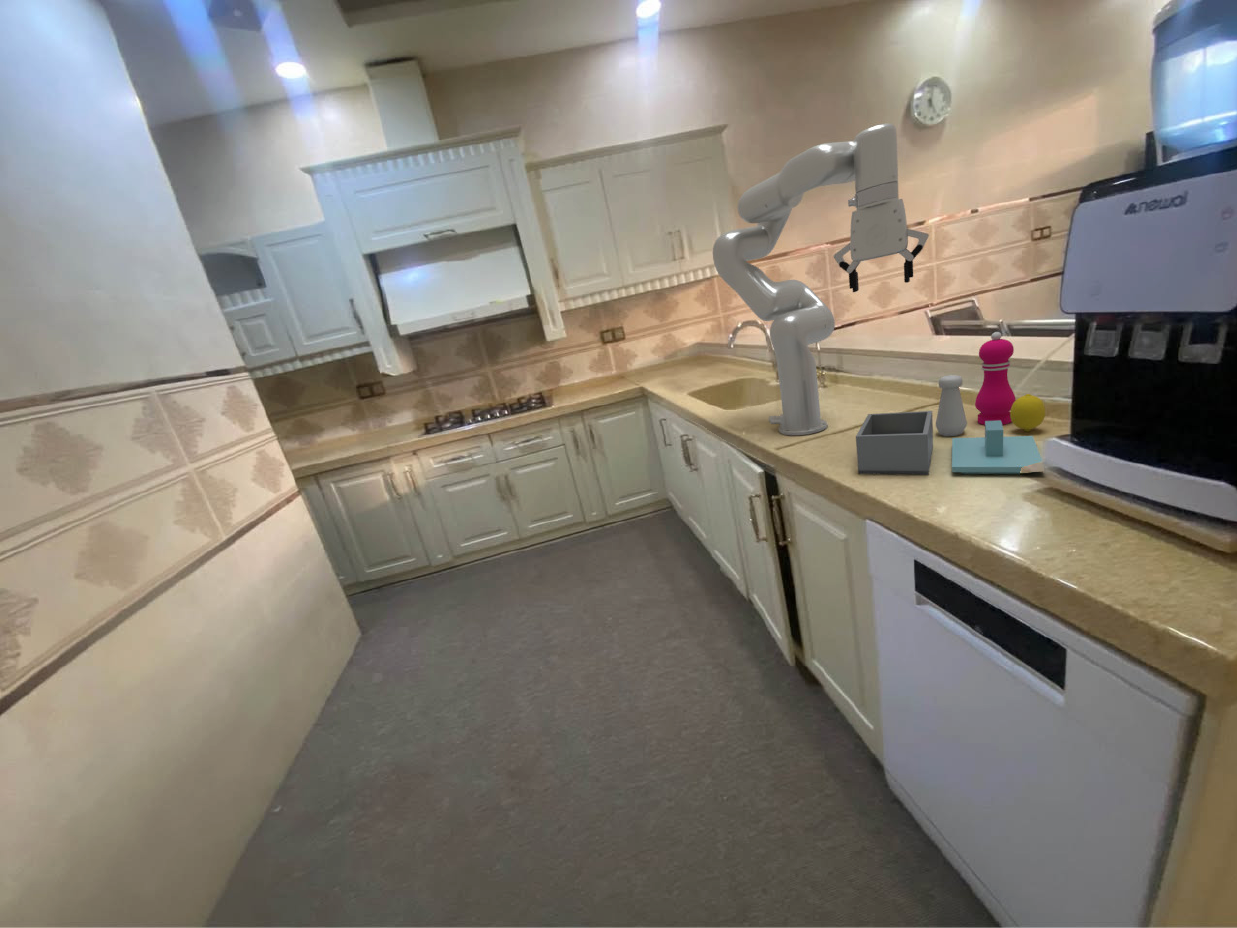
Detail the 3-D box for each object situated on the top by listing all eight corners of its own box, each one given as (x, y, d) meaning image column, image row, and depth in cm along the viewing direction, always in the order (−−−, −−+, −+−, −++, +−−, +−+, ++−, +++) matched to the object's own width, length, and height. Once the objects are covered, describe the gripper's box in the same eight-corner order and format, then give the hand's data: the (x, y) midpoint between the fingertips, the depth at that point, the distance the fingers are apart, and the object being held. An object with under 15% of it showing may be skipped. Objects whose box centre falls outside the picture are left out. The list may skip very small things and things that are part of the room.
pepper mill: (1001, 415, 113) (1003, 327, 108) (1023, 422, 107) (1026, 329, 101) (968, 420, 115) (968, 334, 109) (987, 428, 108) (988, 336, 102)
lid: (951, 478, 89) (951, 440, 87) (952, 448, 102) (952, 415, 100) (1044, 479, 82) (1046, 438, 80) (1032, 446, 95) (1033, 410, 93)
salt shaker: (962, 428, 111) (962, 371, 107) (970, 435, 106) (971, 376, 102) (932, 431, 113) (931, 375, 109) (939, 438, 108) (938, 380, 104)
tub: (858, 474, 99) (855, 436, 96) (870, 448, 111) (868, 414, 109) (928, 474, 92) (927, 434, 90) (933, 447, 104) (932, 410, 102)
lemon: (1039, 426, 103) (1041, 389, 100) (1048, 434, 98) (1050, 395, 96) (1006, 428, 105) (1007, 392, 103) (1013, 436, 100) (1014, 398, 98)
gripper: (827, 210, 100) (833, 296, 105) (926, 182, 90) (928, 279, 95) (834, 211, 106) (840, 293, 111) (929, 185, 96) (930, 277, 101)
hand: (880, 287), depth 103 cm, fingers open, 9 cm apart
